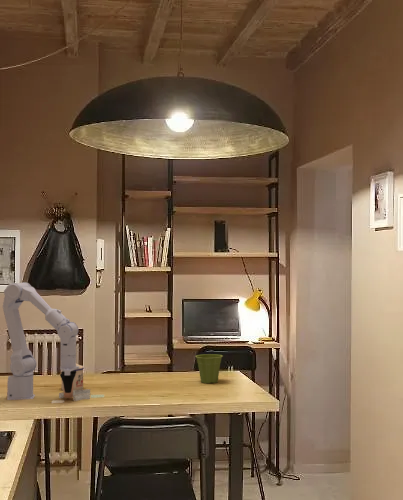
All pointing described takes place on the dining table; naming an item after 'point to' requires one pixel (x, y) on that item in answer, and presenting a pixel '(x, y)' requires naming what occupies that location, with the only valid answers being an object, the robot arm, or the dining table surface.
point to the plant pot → (209, 367)
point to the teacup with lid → (77, 379)
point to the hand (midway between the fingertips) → (68, 391)
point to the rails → (78, 394)
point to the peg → (68, 395)
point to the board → (63, 400)
